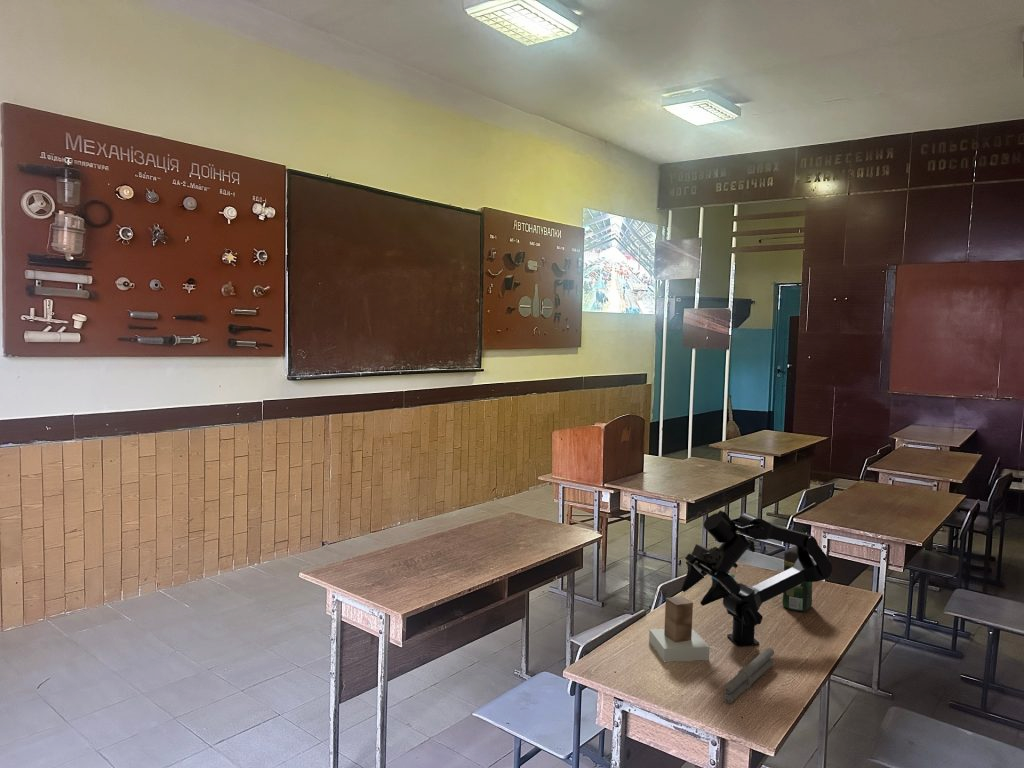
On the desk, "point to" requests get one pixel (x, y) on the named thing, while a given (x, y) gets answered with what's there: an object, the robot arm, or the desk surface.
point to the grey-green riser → (678, 647)
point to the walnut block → (678, 619)
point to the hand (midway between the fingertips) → (691, 597)
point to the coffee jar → (800, 594)
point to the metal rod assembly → (748, 675)
